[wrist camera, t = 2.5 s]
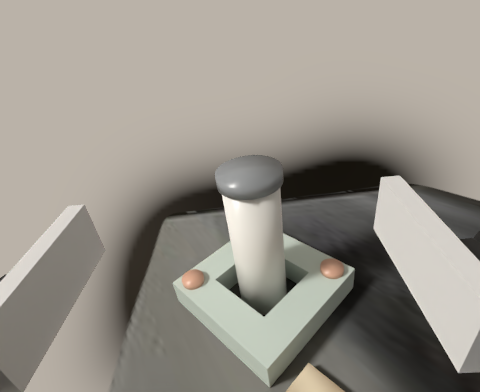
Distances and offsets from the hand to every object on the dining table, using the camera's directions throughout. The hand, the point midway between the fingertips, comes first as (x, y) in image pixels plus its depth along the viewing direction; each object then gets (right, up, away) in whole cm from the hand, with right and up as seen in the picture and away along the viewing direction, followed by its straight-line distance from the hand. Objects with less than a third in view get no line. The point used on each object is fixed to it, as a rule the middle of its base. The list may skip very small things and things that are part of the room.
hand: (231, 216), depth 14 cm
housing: (+3, -10, +21) cm, 23 cm away
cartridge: (+3, -10, +21) cm, 23 cm away
